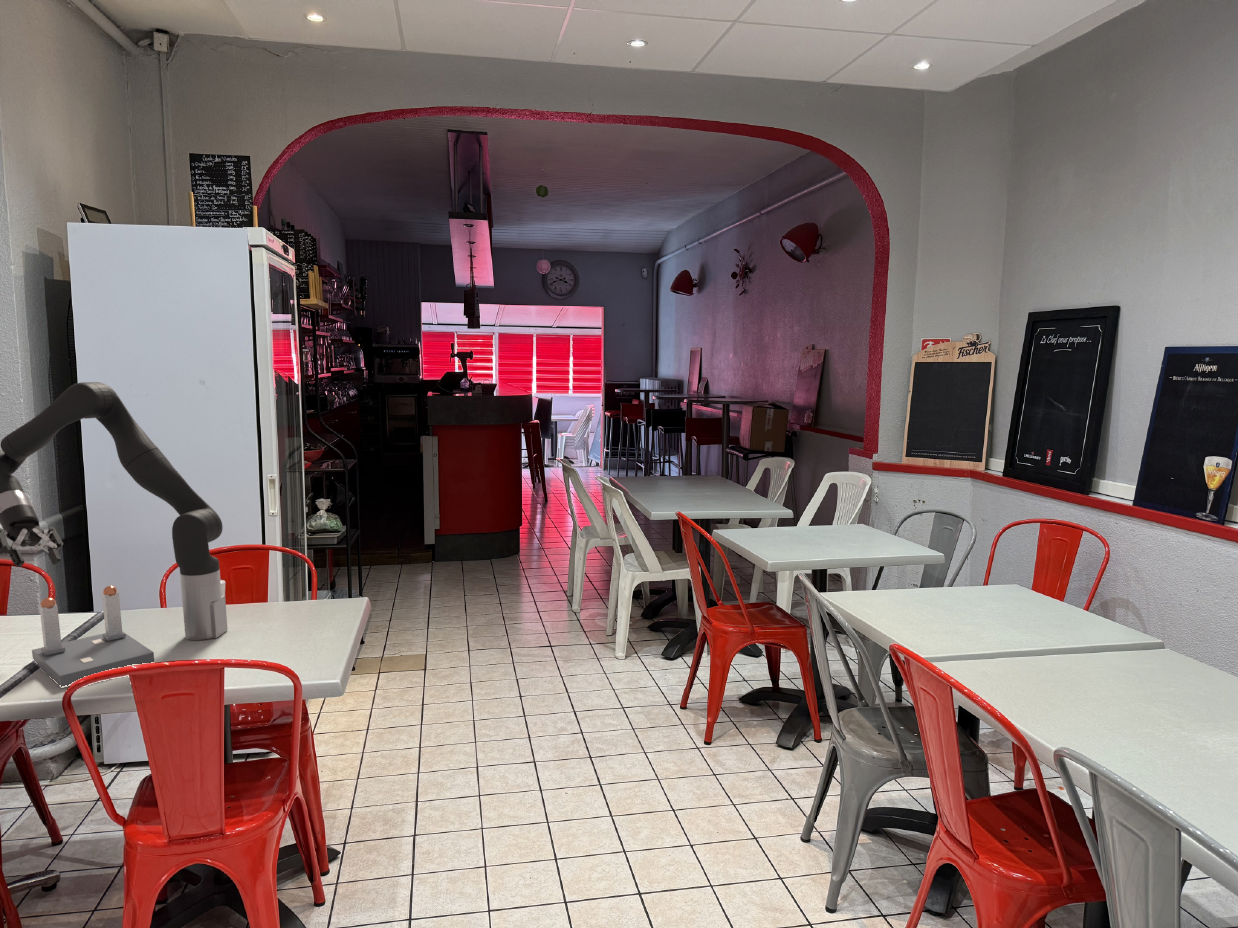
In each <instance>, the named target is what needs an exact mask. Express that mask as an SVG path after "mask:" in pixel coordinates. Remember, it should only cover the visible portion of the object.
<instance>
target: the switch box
mask: <svg viewBox="0 0 1238 928" xmlns="http://www.w3.org/2000/svg"><path fill="white" fill-rule="evenodd" d="M103 634H106V632H105V633H100V634H96V635H92V636H87V637H82V638H78V639H77V638H76V639H74V640H69V641H65V642H61V645H62V646H64V647H65V651H63V652H59V653H55V654H51V655H46V656H45V655H44V654H43V653H42V652H41V648H44V646H43V647H39V648H34V649H32V650H31V655H32V660H33V659H34V660H35V661H36V662H37V663H38V665H39V667H40V668H41V669H40V668H39V667H38V668H39V669H40V670H41V671H42V670H43V671H44V672H45V673H46V674H45V673H44V672H43V671H42V672H43V673H44V674H45V675H46V676H48V677H49V676H50V677H51V678H52V679H54V680H55V681H56V682H57V683H58V684H59V685H61V687H62V686H65V685H67V686H68V685H69V684H71V683H72V682H74V681H76V680H78V679H80V678H83V677H84V676H88V675H91V674H94V673H98V672H101V671H105V670H109V669H112V668H118V667H124V666H127V665H132V664H142V663H151V662H155V652H154V651H153V650H151V649H150V648H148V647H146V646H145V645H143V643H141V642H140V641H138V640H136V639H135V638H133V637H131V636H130V635H129V634H127V633H126V637H123V638H119V639H114V640H110V641H107V640H106V639H105V638H103ZM50 677H49V678H50ZM51 678H50V679H51ZM52 679H51V680H52Z"/></svg>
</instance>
